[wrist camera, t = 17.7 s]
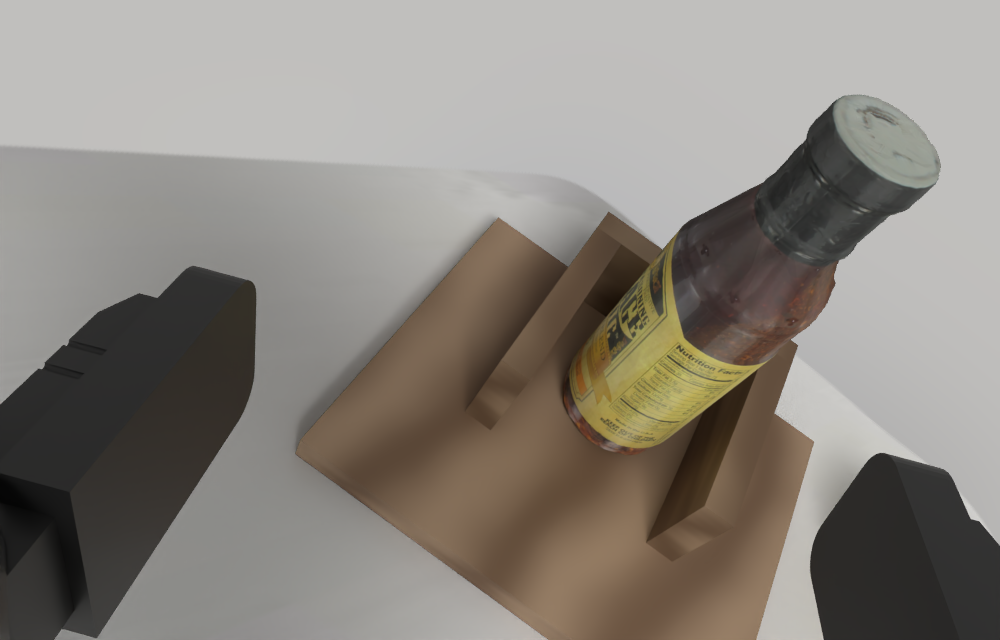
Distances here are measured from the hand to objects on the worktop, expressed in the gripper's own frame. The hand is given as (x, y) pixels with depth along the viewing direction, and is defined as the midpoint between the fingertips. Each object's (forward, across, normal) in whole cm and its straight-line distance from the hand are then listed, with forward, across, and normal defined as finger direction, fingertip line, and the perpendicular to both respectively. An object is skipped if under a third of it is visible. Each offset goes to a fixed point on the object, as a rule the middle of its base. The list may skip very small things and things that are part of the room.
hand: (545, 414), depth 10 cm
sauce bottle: (+23, -5, +19) cm, 30 cm away
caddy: (+21, -5, +21) cm, 30 cm away
